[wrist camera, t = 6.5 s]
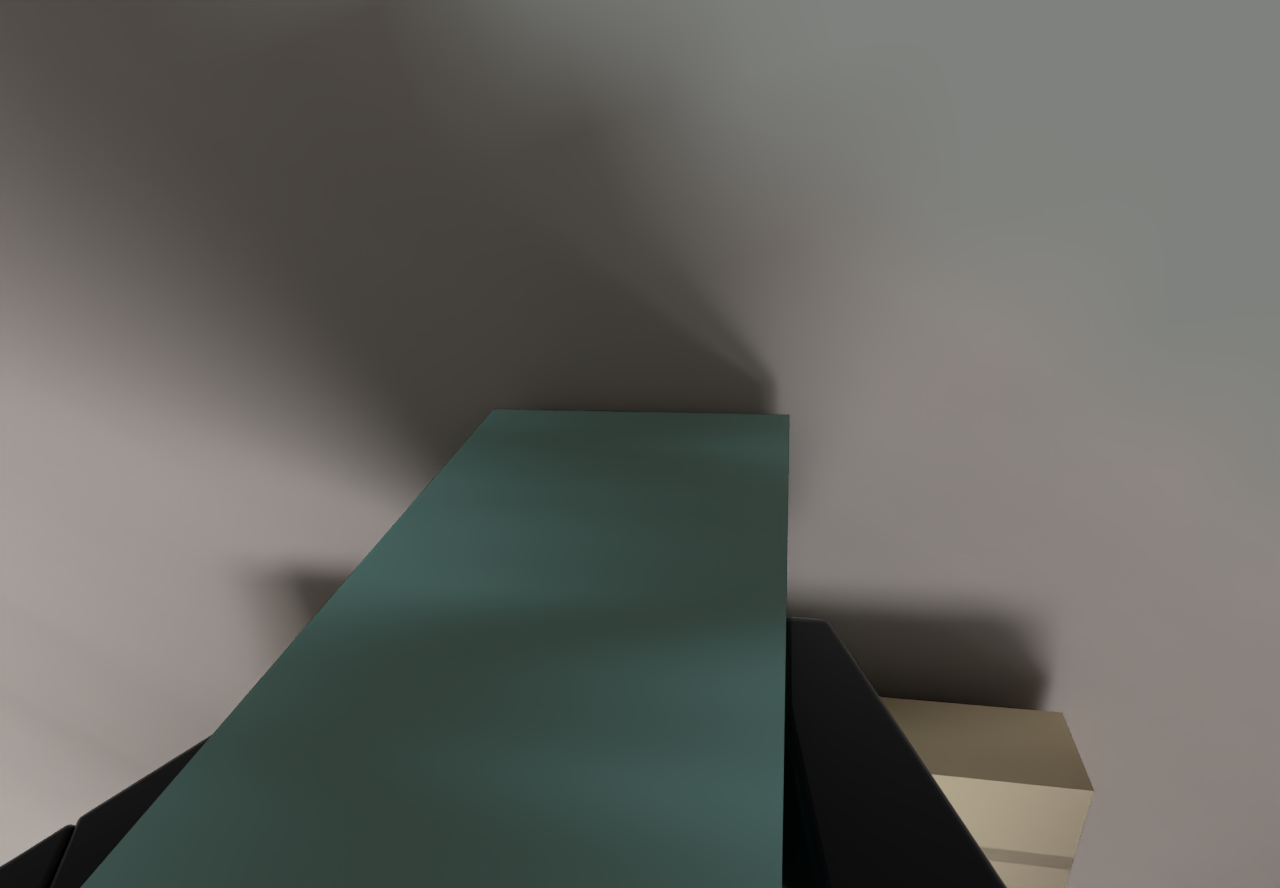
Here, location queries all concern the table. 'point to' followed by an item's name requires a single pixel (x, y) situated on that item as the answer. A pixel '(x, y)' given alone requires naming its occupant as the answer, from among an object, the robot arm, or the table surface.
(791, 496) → the table surface
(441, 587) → the wooden frame with block
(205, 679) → the table surface
